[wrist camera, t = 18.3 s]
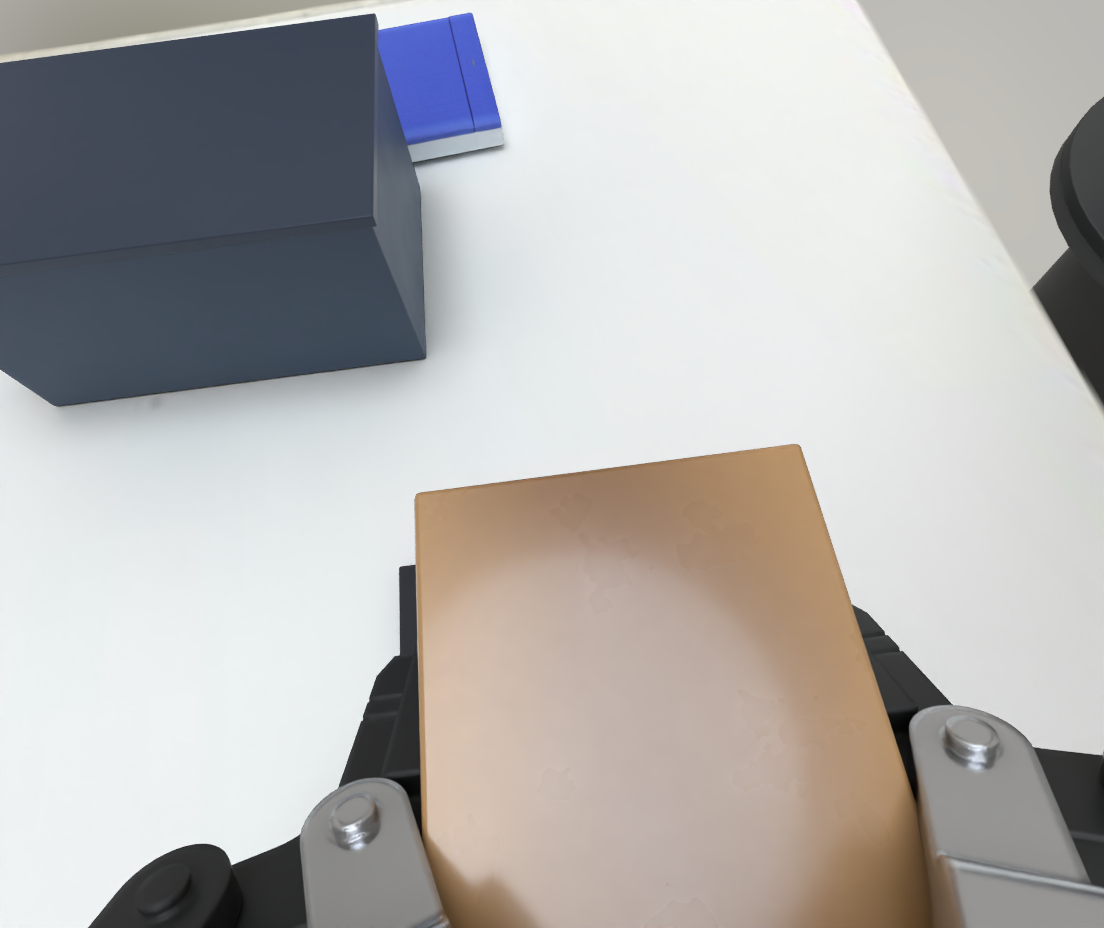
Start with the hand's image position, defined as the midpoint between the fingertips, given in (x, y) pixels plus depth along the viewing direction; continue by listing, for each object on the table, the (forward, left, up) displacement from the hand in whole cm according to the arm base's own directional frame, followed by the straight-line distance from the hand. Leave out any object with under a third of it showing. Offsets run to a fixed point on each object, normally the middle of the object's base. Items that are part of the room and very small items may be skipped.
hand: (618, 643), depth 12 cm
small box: (0, +2, -3) cm, 4 cm away
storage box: (+12, -17, -8) cm, 22 cm away
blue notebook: (+8, -27, -8) cm, 29 cm away
